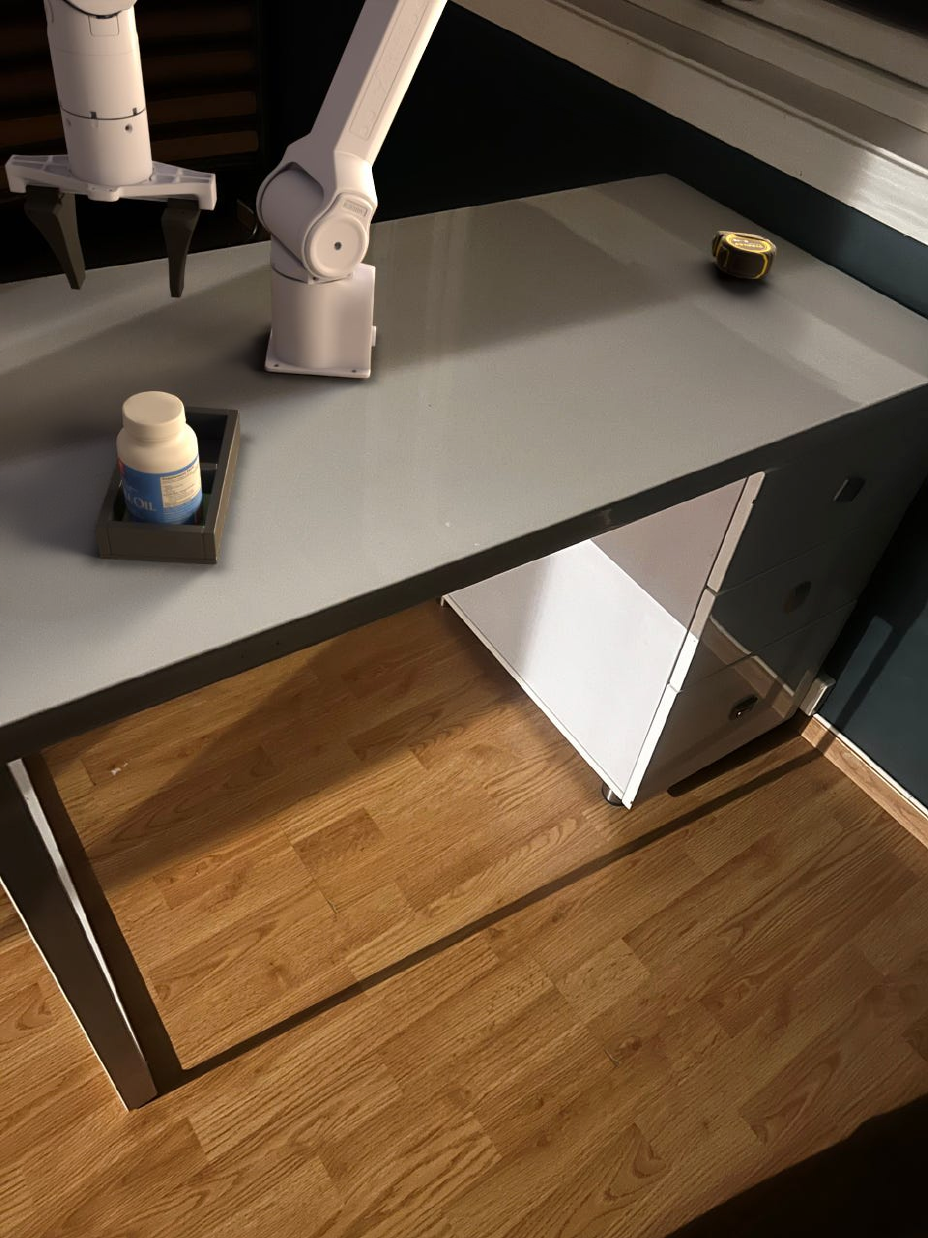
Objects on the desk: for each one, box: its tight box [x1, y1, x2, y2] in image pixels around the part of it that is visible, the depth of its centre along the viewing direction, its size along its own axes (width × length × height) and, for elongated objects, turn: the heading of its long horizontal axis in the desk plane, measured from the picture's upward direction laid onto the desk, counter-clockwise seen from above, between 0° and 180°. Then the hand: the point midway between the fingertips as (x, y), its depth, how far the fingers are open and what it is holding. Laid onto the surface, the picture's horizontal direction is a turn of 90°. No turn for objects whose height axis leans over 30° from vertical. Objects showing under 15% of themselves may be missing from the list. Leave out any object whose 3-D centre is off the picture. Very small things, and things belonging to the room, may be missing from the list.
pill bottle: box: [116, 390, 203, 526], centre depth 69 cm, size 6×5×10 cm
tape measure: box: [710, 230, 778, 280], centre depth 113 cm, size 7×7×4 cm
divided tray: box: [94, 405, 242, 565], centre depth 74 cm, size 8×15×3 cm, turn 3°
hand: (128, 287), depth 78 cm, fingers open, 7 cm apart
